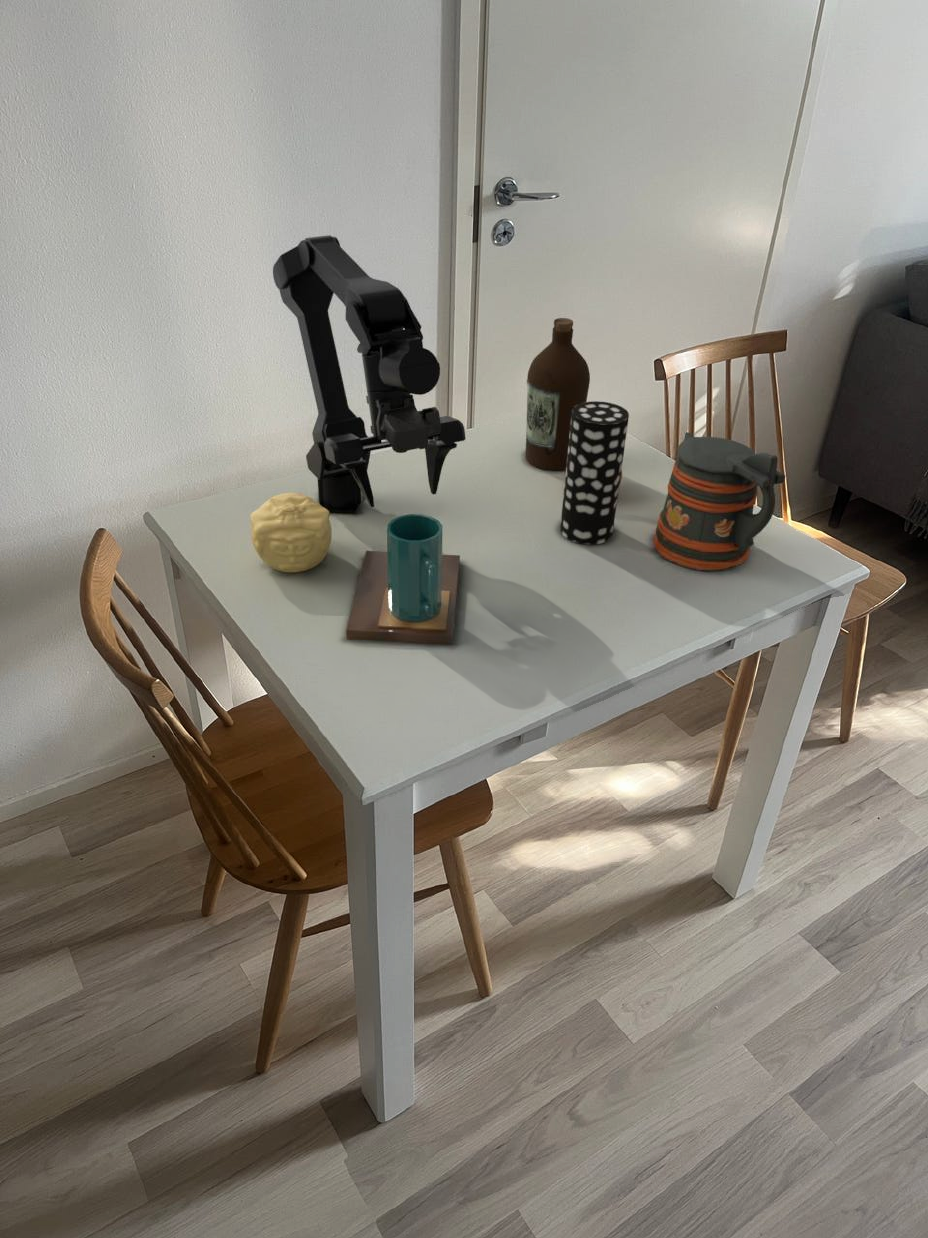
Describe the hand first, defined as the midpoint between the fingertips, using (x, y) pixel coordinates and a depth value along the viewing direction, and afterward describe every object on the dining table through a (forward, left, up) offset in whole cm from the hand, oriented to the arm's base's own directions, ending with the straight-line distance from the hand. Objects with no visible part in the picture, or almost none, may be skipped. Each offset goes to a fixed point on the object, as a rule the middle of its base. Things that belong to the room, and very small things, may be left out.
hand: (403, 500), depth 135 cm
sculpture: (-16, +1, -12) cm, 20 cm away
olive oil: (+23, +39, -12) cm, 47 cm away
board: (+1, -8, -12) cm, 14 cm away
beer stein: (+47, +9, -12) cm, 49 cm away
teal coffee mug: (+3, -13, -10) cm, 17 cm away
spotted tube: (+28, +14, -12) cm, 33 cm away
